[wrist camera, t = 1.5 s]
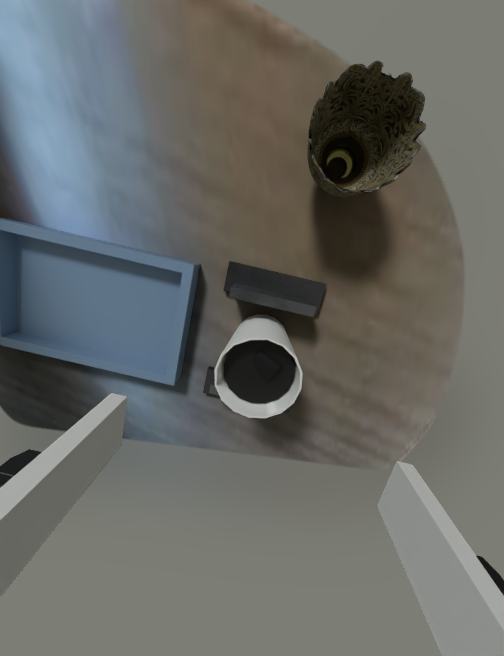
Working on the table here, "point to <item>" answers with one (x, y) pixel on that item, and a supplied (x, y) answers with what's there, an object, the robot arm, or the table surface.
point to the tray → (94, 302)
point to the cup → (365, 130)
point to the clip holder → (269, 296)
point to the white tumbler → (258, 369)
